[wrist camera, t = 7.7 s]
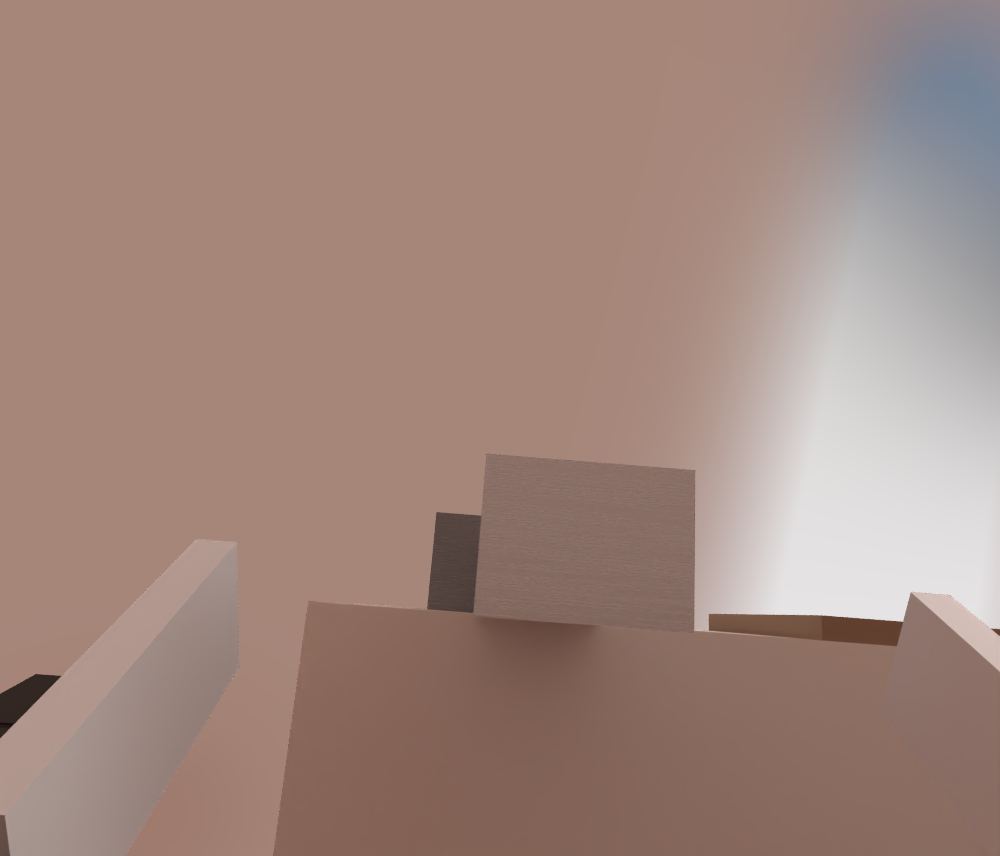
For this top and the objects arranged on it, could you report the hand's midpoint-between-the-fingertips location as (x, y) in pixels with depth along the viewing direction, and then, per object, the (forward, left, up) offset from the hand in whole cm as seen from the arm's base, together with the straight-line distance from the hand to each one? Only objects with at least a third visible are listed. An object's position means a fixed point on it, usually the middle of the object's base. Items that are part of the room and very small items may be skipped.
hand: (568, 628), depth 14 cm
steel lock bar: (+8, -6, 0) cm, 10 cm away
